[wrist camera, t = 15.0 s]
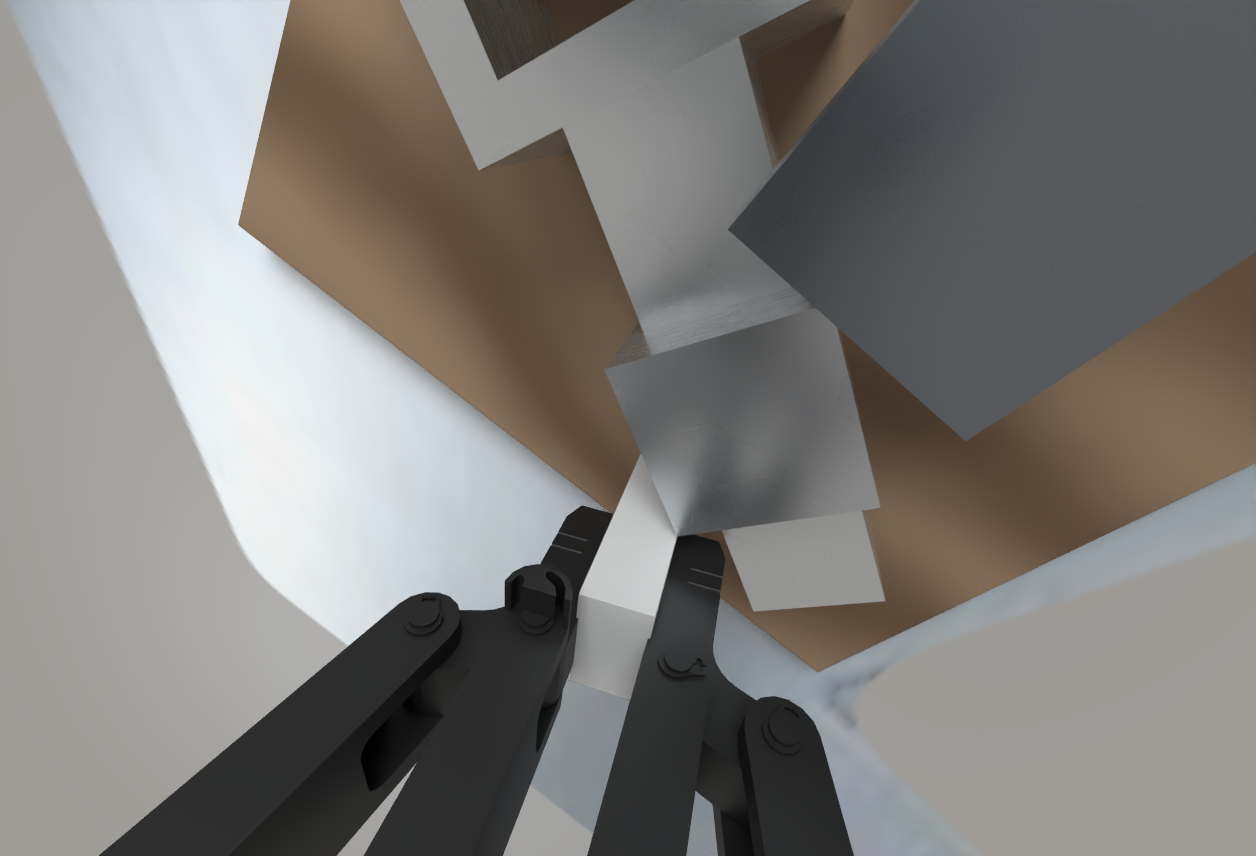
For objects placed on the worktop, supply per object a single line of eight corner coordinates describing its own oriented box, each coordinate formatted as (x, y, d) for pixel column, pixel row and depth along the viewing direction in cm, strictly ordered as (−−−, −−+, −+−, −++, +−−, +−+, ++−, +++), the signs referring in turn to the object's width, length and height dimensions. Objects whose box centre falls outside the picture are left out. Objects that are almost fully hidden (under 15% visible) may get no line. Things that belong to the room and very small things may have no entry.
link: (421, -193, 11) (124, -436, 6) (749, -490, 8) (688, -1353, 3) (706, 516, 19) (675, 666, 14) (934, 482, 16) (1000, 653, 11)
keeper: (1064, -249, 10) (2151, -1693, 2) (1240, -43, 10) (2593, -509, 3) (749, 151, 14) (694, 201, 6) (887, 278, 15) (992, 466, 7)
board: (569, -909, 8) (537, -1060, 7) (1556, 267, 11) (1632, 282, 10) (267, 218, 19) (238, 224, 18) (816, 646, 22) (817, 672, 21)
